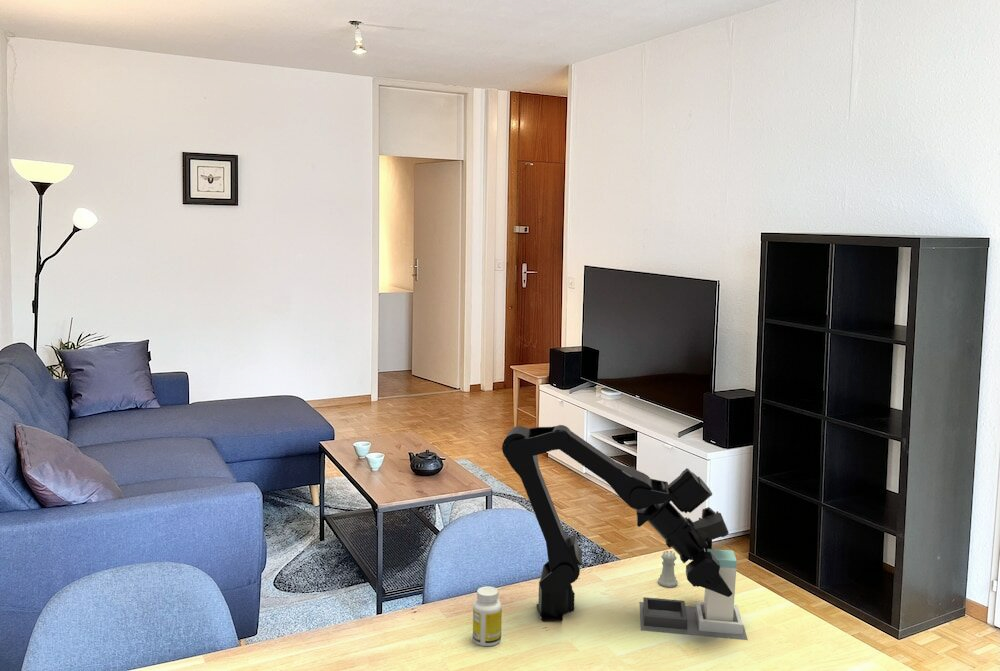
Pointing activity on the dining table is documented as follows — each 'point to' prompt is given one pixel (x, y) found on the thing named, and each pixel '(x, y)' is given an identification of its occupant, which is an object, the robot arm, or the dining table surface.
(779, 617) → the dining table surface
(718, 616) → the plug
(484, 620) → the supplement bottle
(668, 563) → the rook chess piece
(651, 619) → the board
